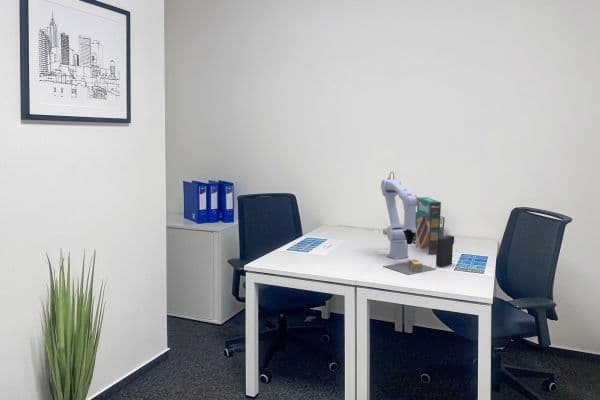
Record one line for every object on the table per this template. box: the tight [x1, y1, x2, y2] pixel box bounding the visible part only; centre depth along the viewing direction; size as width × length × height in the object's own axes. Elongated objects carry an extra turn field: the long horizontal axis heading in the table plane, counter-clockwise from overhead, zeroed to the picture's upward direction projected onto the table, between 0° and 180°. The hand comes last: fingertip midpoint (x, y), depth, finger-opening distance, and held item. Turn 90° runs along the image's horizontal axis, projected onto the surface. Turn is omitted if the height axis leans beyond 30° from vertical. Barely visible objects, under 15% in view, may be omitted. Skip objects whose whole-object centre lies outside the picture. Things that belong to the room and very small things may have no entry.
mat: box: [382, 261, 437, 276], centre depth 265 cm, size 20×18×1 cm
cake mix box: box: [415, 196, 442, 256], centre depth 303 cm, size 22×6×30 cm, turn 6°
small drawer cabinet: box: [435, 234, 455, 268], centre depth 270 cm, size 11×4×15 cm, turn 134°
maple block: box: [408, 259, 423, 273], centre depth 260 cm, size 4×4×8 cm
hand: (409, 244), depth 272 cm, fingers closed
